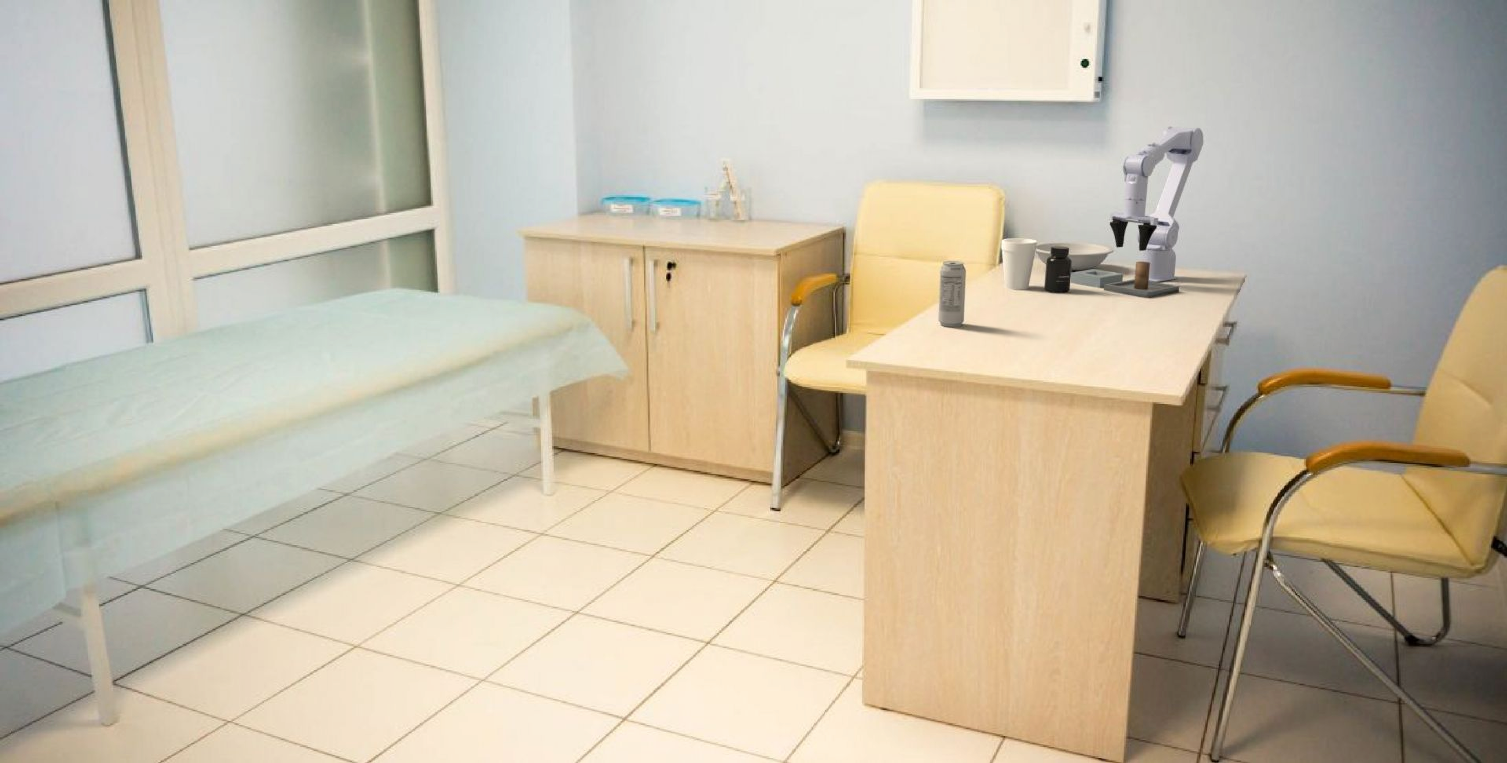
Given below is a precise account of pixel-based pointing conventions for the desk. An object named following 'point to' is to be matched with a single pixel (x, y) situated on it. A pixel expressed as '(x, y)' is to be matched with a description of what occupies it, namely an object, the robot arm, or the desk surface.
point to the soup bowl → (1077, 253)
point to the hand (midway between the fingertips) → (1130, 248)
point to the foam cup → (1018, 262)
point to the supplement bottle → (1058, 270)
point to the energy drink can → (952, 294)
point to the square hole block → (1095, 277)
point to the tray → (1152, 290)
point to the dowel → (1142, 275)
